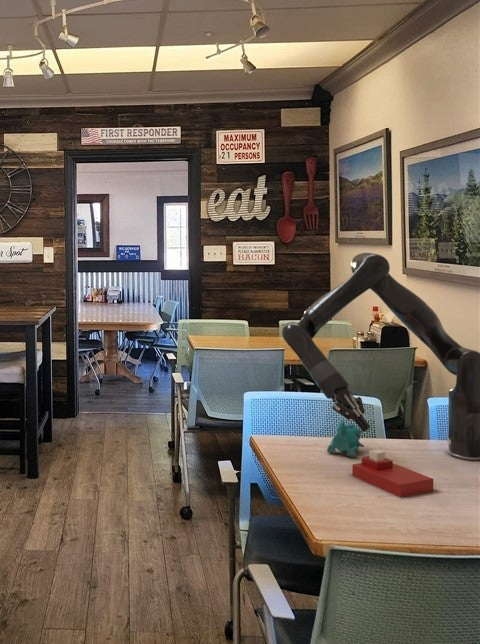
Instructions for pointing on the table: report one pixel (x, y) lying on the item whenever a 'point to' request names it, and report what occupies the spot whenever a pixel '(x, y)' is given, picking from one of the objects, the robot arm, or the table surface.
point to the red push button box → (392, 477)
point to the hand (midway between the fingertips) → (367, 429)
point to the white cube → (377, 455)
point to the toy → (346, 440)
